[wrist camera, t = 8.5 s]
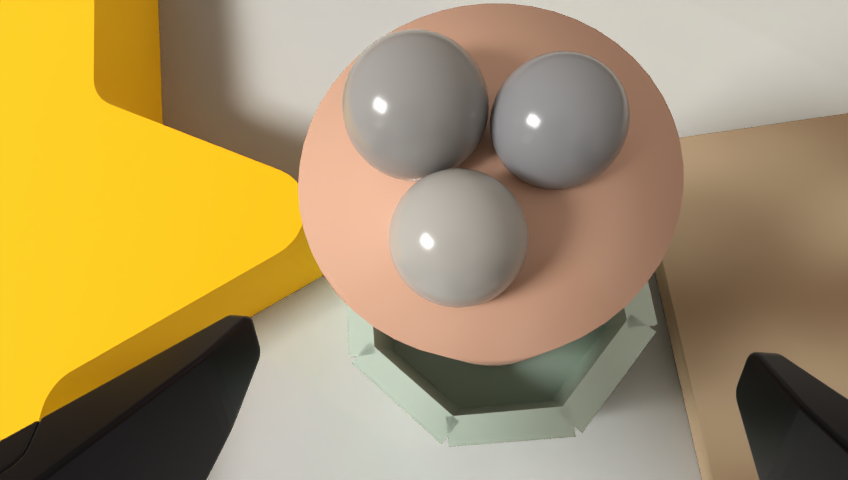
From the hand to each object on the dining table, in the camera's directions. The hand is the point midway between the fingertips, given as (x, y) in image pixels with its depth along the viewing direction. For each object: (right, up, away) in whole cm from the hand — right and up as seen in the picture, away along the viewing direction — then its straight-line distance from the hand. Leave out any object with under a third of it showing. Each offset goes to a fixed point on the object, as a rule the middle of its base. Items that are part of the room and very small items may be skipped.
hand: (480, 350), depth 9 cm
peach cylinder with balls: (+1, 0, +9) cm, 9 cm away
